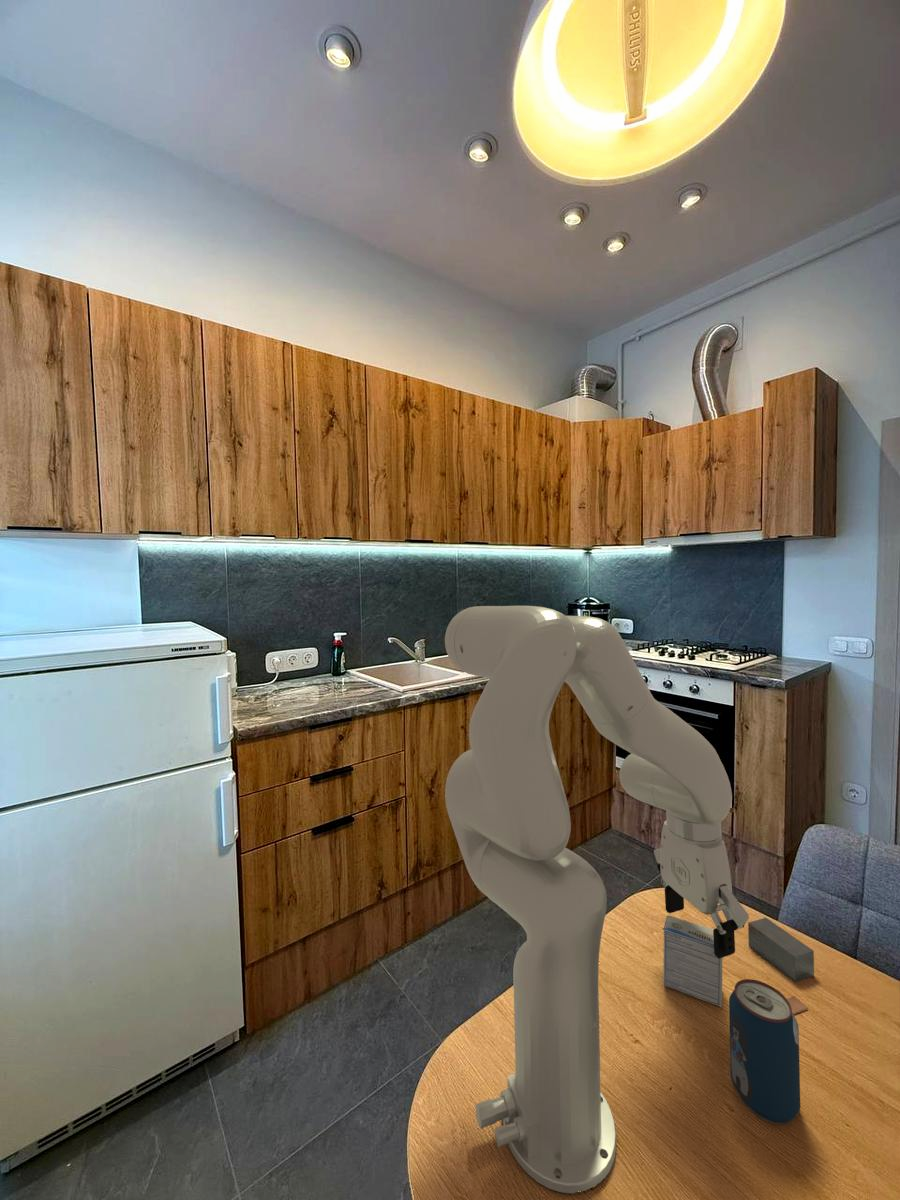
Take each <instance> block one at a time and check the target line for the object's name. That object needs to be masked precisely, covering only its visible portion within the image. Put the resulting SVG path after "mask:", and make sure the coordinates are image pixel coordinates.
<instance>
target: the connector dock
mask: <svg viewBox="0 0 900 1200" xmlns="http://www.w3.org/2000/svg"><path fill="white" fill-rule="evenodd" d="M747 923H748V925H747V926H748V927H747V928H748V930H747V931H748V934H747V935H748V947H750V948H751V949H752V950H753V951H755V952H756V953H757V954H758V955H760V956H761V957H762V958H763V959H765V960H766V961H767V962H768V963H770V964H771V965H773V966H774V967H775V968H776V969H778V971H780V972H781V973H783V974H784V975H785V976H786V977H788V978H789V979H790V980H791V981H793V982H794V983H799V982H801V981H804V980H806V979H809V978H812V977H815V959H814V958H815V957H814V955H815V952H814V951H815V950H814V949H812V948H811V947H809V946H808V945H806V944H805V943H803V942H802V941H801V940H800V939H798V938H796V937H795V936H793V935H792V934H790V933H789V932H788V931H786V930H784V929H783V928H782V927H780V926H779V925H777V924H776V923H775V922H773V921H772V920H770V919H768V918H767V917H764V918H760V919H756V920H754V921H753V920H752V921H749V922H747ZM786 999H787V1000H788V1002H789V1003H790V1005H791V1008H792V1013H793V1014H794V1016H795V1015H797V1014H799V1013H802V1012H805V1011H808V1010H809V1007H808V1006H807V1005H805V1004H804V1003H803V1002H801V1000H799V998H797V997H796V996H794V995H793V996H791V997H788V998H786Z"/></svg>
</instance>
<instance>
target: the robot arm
mask: <svg viewBox="0 0 900 1200" xmlns="http://www.w3.org/2000/svg"><path fill="white" fill-rule="evenodd" d="M444 645H445V651H446V654H447V656H448V658H449V660H450V661H451V663H452V664H453V665H454V666H455V667H456V668H457V669H459V671H462V672H464V673H465V674H468V675H470V676H471V675H472V676H477V677H480V678H481V677H482V678H486V679H488V681H487V682H486V685H485V686H484V688H483V691H482V692H481V694H480V697H479V698H478V701H477V702H476V705H475V706H474V709H473V712H472V713H471V717H470V721H469V728H468V738H469V746H470V749H468V750H466V751H465V752H463V753H461V755H459V756H457V757H458V758H456V759H455V761H454V762H453V764H452V765H451V767H450V769H449V771H448V774H447V778H446V781H445V782H446V783H445V789H444V790H445V791H444V800H445V806H446V811H447V815H448V817H449V820H450V823H451V826H452V829H453V832H454V836H455V838H456V841H457V844H458V847H459V850H460V853H461V856H462V859H463V862H464V864H465V867H466V869H467V872H468V874H469V876H470V879H471V880H472V881H473V883H474V886H476V887H477V889H478V890H479V891H480V892H481V893H482V894H483V895H485V896H486V897H487V898H488V899H489V900H490V901H491V902H493V903H494V904H496V906H498V907H499V908H500V909H502V910H503V911H504V912H506V914H508V915H509V916H510V918H512V919H513V920H515V921H516V922H517V923H518V924H519V925H521V927H522V928H523V930H524V932H525V934H526V941H524V942H523V944H522V945H521V946H520V947H519V948H518V950H517V952H516V955H515V957H514V962H513V970H512V971H513V972H512V976H513V977H512V978H513V981H512V983H513V1015H514V1016H513V1017H514V1023H513V1024H514V1064H515V1066H514V1067H515V1068H514V1069H515V1070H514V1072H515V1073H512V1074H510V1075H507V1076H506V1077H507V1078H506V1079H507V1087H506V1089H504V1090H501V1091H500V1093H499V1095H500V1096H498V1097H495V1098H492V1099H491V1098H489V1099H485V1100H484V1101H483V1100H482V1101H480V1102H478V1103H475V1117H476V1120H477V1124H478V1127H479V1129H480V1130H481V1129H484V1128H486V1127H489V1126H492V1125H494V1124H496V1122H499V1121H502V1122H503V1124H502V1125H500V1126H497V1127H494V1137H495V1141H496V1145H497V1147H498V1148H500V1147H502V1146H504V1145H505V1146H506V1145H508V1147H509V1148H510V1149H509V1150H510V1151H511V1153H512V1155H513V1156H514V1158H515V1160H516V1162H517V1163H518V1164H519V1166H520V1167H521V1168H522V1170H523V1171H524V1172H525V1173H526V1174H528V1175H529V1176H530V1177H531V1178H532V1179H533V1180H534V1181H535V1182H537V1183H539V1184H540V1185H542V1186H544V1187H545V1188H547V1189H550V1190H551V1191H556V1192H559V1193H563V1194H565V1193H566V1194H576V1193H575V1192H578V1191H579V1192H580V1191H585V1190H587V1189H590V1188H592V1187H593V1186H595V1185H597V1184H598V1183H599V1184H600V1183H602V1182H603V1181H604V1180H603V1178H604V1179H606V1177H608V1176H607V1175H608V1174H609V1173H610V1172H611V1169H612V1167H613V1164H614V1162H615V1158H616V1152H617V1130H616V1122H615V1120H614V1119H615V1118H614V1115H613V1110H612V1109H611V1107H610V1105H609V1102H608V1101H607V1099H606V1096H604V1094H603V1092H602V1089H601V1050H600V1048H601V1043H600V999H599V998H600V996H599V994H600V993H599V992H600V991H599V963H600V961H599V960H600V949H601V940H602V933H603V929H604V924H605V919H606V912H607V903H608V902H607V901H608V900H607V891H606V890H607V889H606V887H605V884H604V881H603V879H602V878H601V876H600V874H599V873H598V872H597V870H596V869H595V868H594V867H593V866H592V865H591V864H590V863H589V862H588V861H587V860H585V859H584V858H583V857H582V856H580V855H578V854H577V853H576V852H574V851H572V850H571V849H569V848H567V845H568V843H569V839H570V835H571V829H572V827H571V826H572V822H571V816H570V815H571V814H570V807H569V803H568V800H567V797H566V793H565V789H564V785H563V782H562V778H561V775H560V771H559V767H558V764H557V759H556V757H555V752H554V749H553V746H552V745H553V744H552V739H551V737H550V725H549V724H550V718H551V714H552V710H553V708H554V705H555V702H556V700H557V697H558V695H559V693H560V691H561V689H562V687H563V685H564V683H566V684H567V685H568V687H570V690H571V691H572V693H573V694H574V695H575V697H576V699H577V700H578V702H579V703H580V705H581V707H582V709H583V710H584V711H585V714H587V716H588V718H589V719H590V721H591V723H592V725H593V726H594V728H595V729H596V731H597V732H598V733H599V734H600V735H602V737H604V738H605V739H606V740H609V741H610V742H612V743H613V744H615V745H616V746H618V747H619V748H621V749H623V750H625V751H627V753H630V754H628V755H627V756H626V757H625V759H624V760H623V762H622V763H621V766H620V768H619V775H618V776H619V781H620V784H621V787H622V788H623V790H624V791H625V792H626V793H627V794H628V795H629V796H630V797H632V798H634V799H635V800H637V801H639V802H642V803H644V804H647V805H649V806H652V807H655V808H658V809H660V810H664V811H665V813H666V814H665V816H666V817H665V818H666V820H664V821H663V826H662V829H661V834H660V835H661V836H660V837H661V838H660V848H656V849H654V850H653V854H654V857H655V860H656V863H657V869H658V871H659V874H660V875H661V884H662V885H663V887H664V901H665V903H664V905H665V911H666V912H667V913H668V914H672V913H673V914H674V913H677V912H679V911H683V910H684V909H685V901H687V902H688V904H691V906H693V907H694V908H695V909H696V910H698V911H699V912H700V913H702V914H704V915H707V916H710V917H711V920H712V921H713V924H714V926H715V928H713V937H714V953H715V956H716V957H718V958H722V959H723V958H724V957H727V956H731V955H733V954H735V952H736V940H735V939H736V938H735V931H737V930H740V929H743V928H745V925H746V923H748V920H749V919H750V915H749V913H748V912H747V911H746V909H745V908H744V907H743V905H742V904H741V903H740V902H739V900H738V899H737V898H736V896H735V895H734V894H733V888H732V886H733V885H732V876H731V869H730V861H729V856H728V852H727V847H726V844H725V841H724V840H723V839H722V838H723V834H722V830H723V829H722V821H723V820H725V819H726V817H727V816H728V815H729V812H730V810H731V807H732V801H733V792H732V787H731V782H730V779H729V776H728V774H727V772H726V769H725V766H724V764H723V763H722V761H721V760H722V759H720V756H719V754H718V753H717V751H716V748H714V746H713V745H712V744H711V743H710V741H708V740H707V739H706V738H705V736H703V735H702V734H701V733H700V732H699V731H698V730H697V729H695V727H693V726H692V725H690V724H689V723H687V722H686V721H685V720H683V719H682V718H681V717H680V716H679V715H677V714H676V713H674V711H672V710H671V709H669V708H668V707H667V706H665V705H664V704H662V703H660V701H658V700H657V699H655V698H654V696H653V694H652V693H651V691H650V688H649V686H648V684H647V683H646V681H645V679H644V677H643V675H642V674H641V672H640V670H639V667H638V665H637V664H636V662H635V661H634V658H633V657H632V655H631V653H630V651H629V649H628V648H627V645H626V643H625V641H624V640H623V638H622V636H621V634H620V633H619V631H618V630H617V628H615V626H614V625H612V624H611V623H610V622H608V621H606V620H604V619H602V618H600V617H594V616H584V615H566V614H564V613H562V612H561V611H557V610H555V609H552V608H549V607H548V608H547V607H544V606H536V605H480V606H479V605H478V606H470V607H467V608H465V609H463V610H461V611H459V612H458V613H457V614H455V616H453V617H452V619H451V621H450V622H449V623H448V625H447V628H446V631H445V635H444ZM720 911H722V913H723V915H724V918H725V920H726V921H724V922H723V921H722V918H721V916H720V914H719V912H720ZM602 1180H603V1181H602ZM601 1181H602V1182H601ZM599 1184H598V1185H599ZM598 1185H597V1186H598ZM592 1189H593V1188H592ZM590 1190H591V1189H590ZM587 1191H588V1190H587ZM585 1192H586V1191H585ZM580 1193H581V1192H580Z"/></svg>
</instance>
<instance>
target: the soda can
mask: <svg viewBox="0 0 900 1200" xmlns="http://www.w3.org/2000/svg"><path fill="white" fill-rule="evenodd" d="M787 999H788V998H787V997H786V996H785V995H784V994H783V993H782V992H780V991H779V990H778V989H776V988H775V987H773V986H772V985H770V984H768V983H765V982H764V981H760V980H757V979H751V978H750V979H749V978H746V979H745V978H744V979H740V980H739V981H737V982H736V983H735V985H734V989H733V991H732V993H731V994H730V996H729V1000H728V1003H729V1004H728V1005H729V1006H728V1008H729V1009H728V1012H729V1014H728V1015H729V1058H730V1059H729V1062H730V1063H729V1064H730V1065H729V1067H730V1071H729V1072H730V1077H731V1082H732V1084H733V1086H734V1088H735V1090H736V1092H737V1094H738V1096H739V1097H740V1099H741V1100H742V1101H743V1103H744V1104H745V1106H747V1108H748V1109H749V1110H750V1111H751V1112H752V1113H754V1115H757V1117H759V1118H760V1119H762V1120H763V1121H766V1122H768V1123H771V1124H775V1125H784V1124H788V1123H790V1122H791V1121H793V1120H794V1119H795V1118H796V1117H797V1116H798V1115H799V1113H800V1110H801V1076H800V1075H801V1074H800V1073H801V1072H800V1071H801V1070H800V1039H799V1038H800V1035H799V1034H800V1032H799V1031H800V1030H799V1029H800V1028H799V1023H798V1021H797V1018H796V1016H795V1015H794V1014H793V1013H792V1008H791V1005H790V1003H789V1002H788V1000H787Z"/></svg>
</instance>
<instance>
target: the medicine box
mask: <svg viewBox="0 0 900 1200" xmlns="http://www.w3.org/2000/svg"><path fill="white" fill-rule="evenodd" d="M664 923H665V924H664V926H663V972H662V973H663V979H662V984H663V985H664V986H665V987H668V988H671V989H673V990H676V991H679V992H681V993H684V994H686V995H688V996H692V997H694V998H697V999H699V1000H701V1001H705V1002H706V1003H709V1004H712V1005H715V1006H718V1007H720V1008H722V1007H723V958H718V957H716V956H715V953H714V937H713V930H714V928H710V927H706V926H704V925H700V924H698V923H695V922H691V921H689V920H688V921H687V920H685V919H681V918H679V917H675V916H672V915H666V917H665V922H664Z"/></svg>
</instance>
